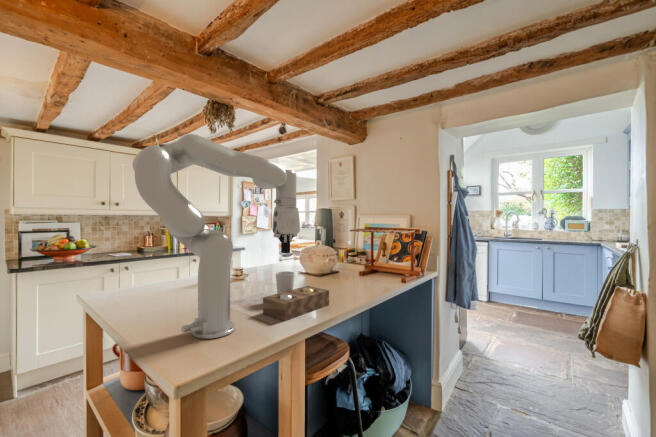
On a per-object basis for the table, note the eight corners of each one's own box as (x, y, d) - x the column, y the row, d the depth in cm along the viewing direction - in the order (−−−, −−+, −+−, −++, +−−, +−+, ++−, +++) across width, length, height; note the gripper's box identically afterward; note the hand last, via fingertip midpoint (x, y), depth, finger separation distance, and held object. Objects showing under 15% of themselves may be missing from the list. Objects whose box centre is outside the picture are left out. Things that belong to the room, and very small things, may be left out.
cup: (293, 304, 120) (293, 275, 120) (273, 304, 120) (273, 275, 120) (295, 298, 128) (295, 271, 128) (277, 298, 128) (277, 271, 128)
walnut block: (284, 321, 100) (284, 303, 100) (262, 313, 108) (262, 297, 108) (329, 305, 119) (329, 290, 119) (307, 299, 127) (307, 285, 127)
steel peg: (285, 313, 106) (285, 297, 106) (277, 311, 109) (277, 295, 109) (294, 310, 109) (294, 295, 109) (286, 308, 112) (286, 293, 112)
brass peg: (308, 305, 115) (308, 291, 115) (300, 303, 118) (300, 289, 118) (315, 303, 118) (315, 289, 118) (307, 301, 121) (307, 287, 121)
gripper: (277, 202, 100) (276, 255, 100) (307, 204, 112) (306, 252, 112) (263, 202, 105) (263, 253, 105) (293, 204, 117) (293, 250, 117)
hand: (285, 252), depth 109 cm, fingers closed
